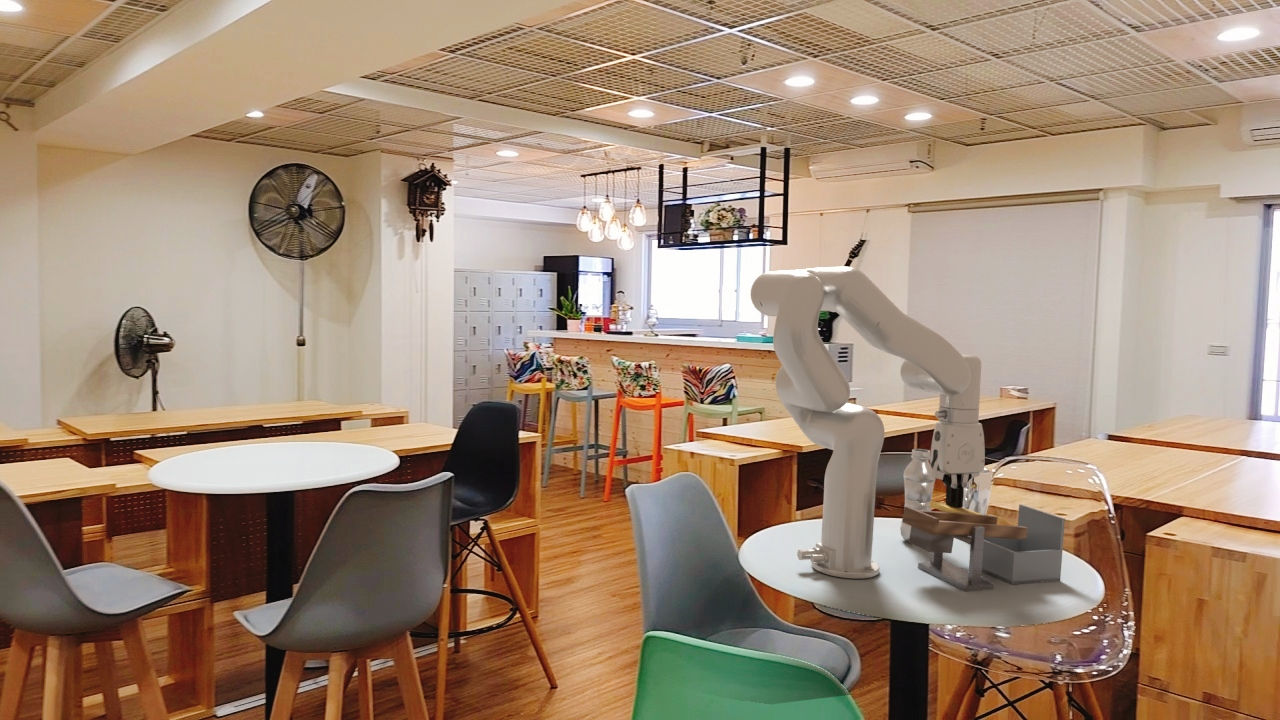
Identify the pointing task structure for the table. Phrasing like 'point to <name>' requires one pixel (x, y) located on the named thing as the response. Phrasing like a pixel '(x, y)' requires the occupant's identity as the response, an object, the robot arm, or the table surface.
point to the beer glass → (978, 493)
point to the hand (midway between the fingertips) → (954, 505)
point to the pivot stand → (958, 575)
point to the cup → (1027, 550)
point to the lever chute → (953, 527)
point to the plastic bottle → (917, 485)
